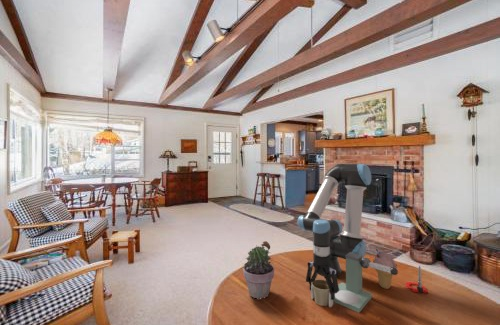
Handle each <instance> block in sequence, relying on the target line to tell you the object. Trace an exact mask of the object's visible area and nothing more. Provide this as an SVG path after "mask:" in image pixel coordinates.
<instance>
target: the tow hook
mask: <svg viewBox="0 0 500 325" xmlns="http://www.w3.org/2000/svg"><path fill="white" fill-rule="evenodd" d="M417 276H418V277H417V278H418V279H417V280H418V281H417V282H412V281H411V282H410V281H409V282H406V283H405V287H406V288H407V289H409V290H411V291H412V293H420V294H423V293H425V294H428V293H429V291H428V289H426V287H425V286H424V285H422V284H423V282H422V270H421V266H419V265H418V271H417ZM412 286H415V287H412Z"/></svg>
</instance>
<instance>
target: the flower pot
mask: <svg viewBox="0 0 500 325" xmlns="http://www.w3.org/2000/svg"><path fill="white" fill-rule="evenodd" d="M312 286H313V290H314V297H315V298H314V302H315V303H316V305H318V306H321V307H324V306H325V307H327V306H329V292H330V289H329V287H328V284H327V282H326V279H321V278H316V279H315V280H314V281H313V282H312Z"/></svg>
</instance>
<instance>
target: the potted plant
mask: <svg viewBox="0 0 500 325" xmlns="http://www.w3.org/2000/svg"><path fill="white" fill-rule="evenodd" d="M265 248H266V249H265ZM270 249H271V245H270V243H269V242H268V241H263V242H262V243H261V244H260V246H258V245H257V244H256V246H255V247H254V248H250V250H249V251H248V252H247V254H248V257H246V258H245V259H246V260H247V261H246V262H245V263H244V264H243V267H242V268H240V270H241V269H242V272H243V278H244V279H245V282H246V285H247V291H248V294H250V295H251V296H252V297H254V298H258V299H257V300H261V299H260V298H264V297H266V296H267V297H268V296H269V295H268V294H270V290H271V285H272V281H273V279H274V277H275V276H274V275H275V266H274V262H273V261H271V260H272V259H271V258H272V257H273V256H269V254H271V252H270V251H269V250H270ZM269 260H270V261H269ZM250 295H249V296H250ZM252 297H251V298H252ZM254 298H253V299H254ZM264 299H265V298H264Z"/></svg>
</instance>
